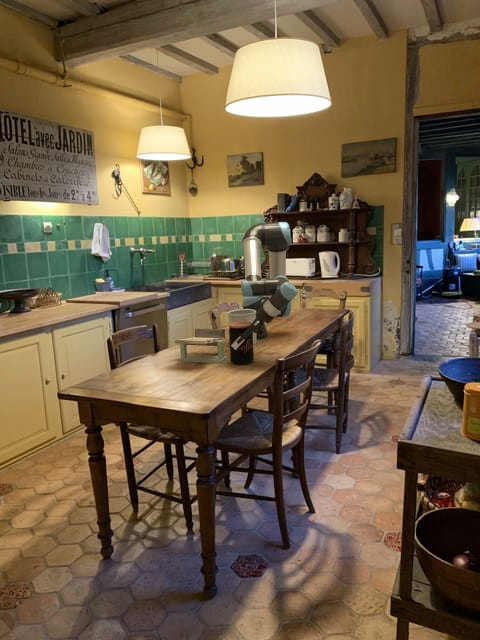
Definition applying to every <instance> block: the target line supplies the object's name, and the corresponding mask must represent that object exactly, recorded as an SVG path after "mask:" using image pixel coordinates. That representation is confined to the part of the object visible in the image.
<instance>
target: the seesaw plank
mask: <svg viewBox="0 0 480 640" xmlns="http://www.w3.org/2000/svg"><path fill="white" fill-rule="evenodd" d="M219 340H224V342H225V341H226V329H225V328H223V329H222V328H195V329H194V336H193V337H188V338H181V339H174V344H179V345H180V344H185V345H187V346H202V347H203V346H206V347H211V346H212V347H218V346H217V341H219Z"/></svg>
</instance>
